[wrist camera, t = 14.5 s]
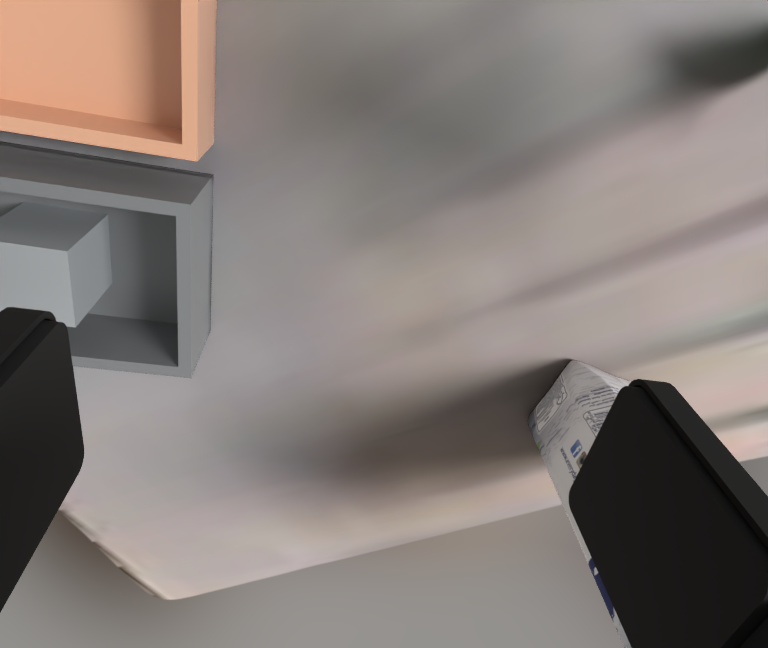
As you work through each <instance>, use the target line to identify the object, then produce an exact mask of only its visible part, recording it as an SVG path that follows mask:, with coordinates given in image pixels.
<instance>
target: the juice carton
mask: <svg viewBox="0 0 768 648" xmlns="http://www.w3.org/2000/svg"><path fill="white" fill-rule="evenodd" d="M630 383H631V381H628V380H625V379H622V378H619V377H616V376H613V375H610V374H608V373H606V372H603V371H601V370H599V369H597V368H595V367H592V366H590V365H588V364H585V363H582V362H579V361H575V360H572V361H571V362H570V363H569V364H568V365H567V366H566V367H565V369H564V370H563V371H562V373H561V374H560V376H559V377H558V378H557V380H556V381H555V383H554V384H553V386H552V387H551V388H550V390H549V391H548V392H547V394H546V395H545V396H544V397H543V399H542V400H541V401H540V402H539V404H538V405H537V406H536V407H535V409H534V410H533V411H532V413H531V414H530V416H529V418H528V425H529V428H530V431H531V433H532V435H533V438H534V440H535V442H536V444H537V447H538V449H539V451H540V454H541V456H542V458H543V461H544V463H545V465H546V468H547V470H548V472H549V475H550V477H551V479H552V482H553V484H554V486H555V488H556V491H557V493H558V495H559V498H560V500H561V502H562V505H563V507H564V509H565V512H566V514H567V516H568V518H569V521H570V523H571V525H572V528H573V530H574V532H575V535H576V537H577V539H578V542H579V544H580V546H581V548H582V551H583V553H584V555H585V557H586V560H587V562H588V565H589V567H590V569H591V572H592V574H593V576H594V579H595V580H596V583H597V586H598V588H599V590H600V592H601V595H602V597H603V599H604V602H605V604H606V606H607V609H608V611H609V613H610V616H611V618H612V620H613V623H614V625H615V627H616V629H617V632H618V634H619V636H620V639H621V641H622V643H623V646H624V648H632V647H631V645H630V643H629V641H628V638H627V636H626V634H625V632H624V629H623V627H622V625H621V623H620V620H619V618H618V616H617V614H616V611H615V609H614V607H613V605H612V602H611V600H610V598H609V596H608V593H607V591H606V589H605V587H604V584H603V582H602V580H601V578H600V575H599V573H598V571H597V569H596V566H595V564H594V562H593V560H592V557H591V555H590V553H589V551H588V548H587V546H586V544H585V541H584V539H583V537H582V535H581V532H580V530H579V528H578V526H577V523H576V521H575V519H574V517H573V514H572V512H571V510H570V507H569V491H570V488H571V486H572V484H573V482H574V480H575V478H576V476H577V474H578V472H579V470H580V468H581V466H582V464H583V462H584V460H585V458H586V456H587V454H588V452H589V450H590V448H591V446H592V444H593V442H594V440H595V438H596V436H597V434H598V432H599V430H600V428H601V426H602V424H603V422H604V420H605V418H606V416H607V414H608V412H609V410H610V408H611V406H612V404H613V402H614V400H615V398H616V396H617V394H618V392H619V391H620V389H621V388H623V387H624V386H628V385H629V384H630Z"/></svg>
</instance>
